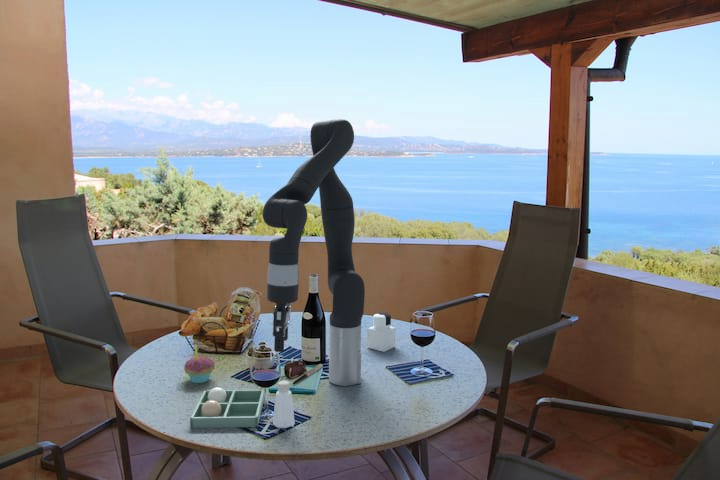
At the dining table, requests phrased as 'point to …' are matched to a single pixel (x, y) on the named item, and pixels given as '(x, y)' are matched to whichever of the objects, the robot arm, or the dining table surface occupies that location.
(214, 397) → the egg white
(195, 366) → the cupcake
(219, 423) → the egg tray
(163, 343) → the dining table surface
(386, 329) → the medicine bottle
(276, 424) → the salt shaker
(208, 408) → the egg brown
